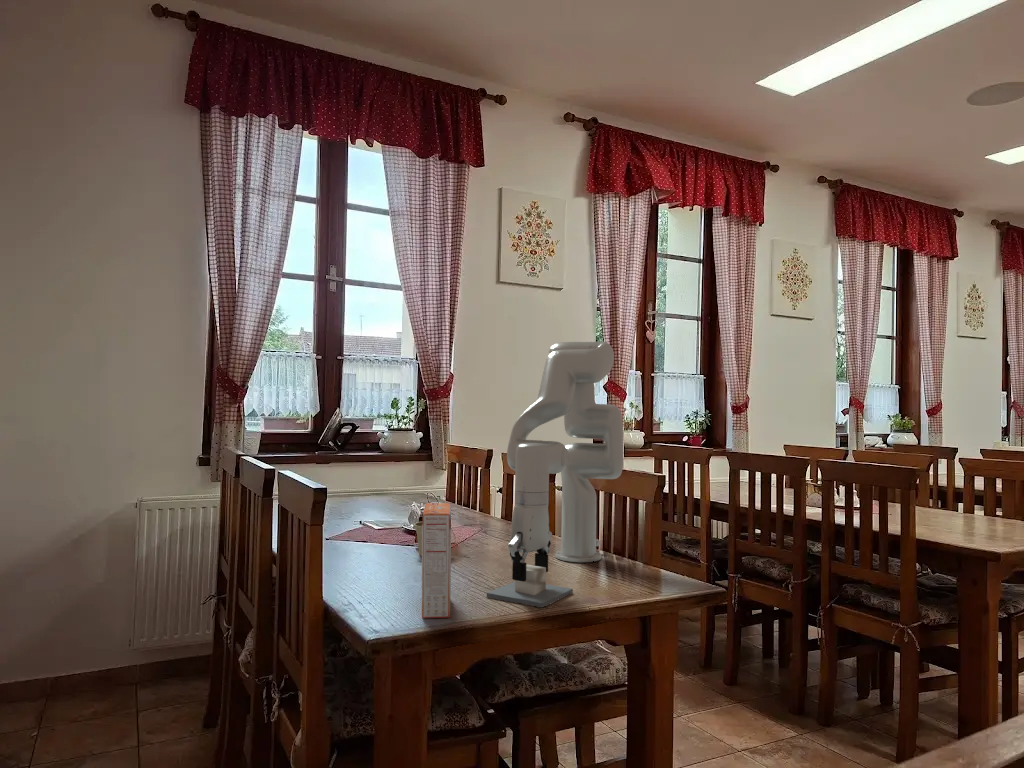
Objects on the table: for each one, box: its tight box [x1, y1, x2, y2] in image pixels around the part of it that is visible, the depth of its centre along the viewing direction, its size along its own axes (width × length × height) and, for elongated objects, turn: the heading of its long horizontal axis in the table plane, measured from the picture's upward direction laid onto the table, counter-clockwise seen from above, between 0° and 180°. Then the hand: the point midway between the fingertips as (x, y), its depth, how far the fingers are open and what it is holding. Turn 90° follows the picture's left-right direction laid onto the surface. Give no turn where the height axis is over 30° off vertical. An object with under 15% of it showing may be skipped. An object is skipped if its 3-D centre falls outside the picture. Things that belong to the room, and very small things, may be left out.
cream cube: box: [514, 564, 547, 595], centre depth 161 cm, size 5×5×5 cm
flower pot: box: [413, 521, 422, 557], centre depth 200 cm, size 9×9×9 cm
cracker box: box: [421, 502, 452, 619], centre depth 150 cm, size 14×6×21 cm, turn 5°
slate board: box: [486, 581, 574, 608], centre depth 161 cm, size 14×14×1 cm
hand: (530, 575), depth 161 cm, fingers open, 9 cm apart
